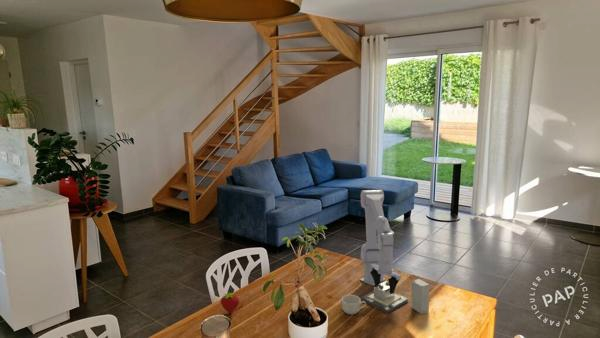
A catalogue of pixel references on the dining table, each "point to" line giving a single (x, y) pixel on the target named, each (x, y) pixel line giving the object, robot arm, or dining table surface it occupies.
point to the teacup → (351, 304)
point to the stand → (385, 302)
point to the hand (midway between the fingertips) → (384, 289)
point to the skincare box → (420, 296)
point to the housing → (383, 292)
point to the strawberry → (229, 302)
